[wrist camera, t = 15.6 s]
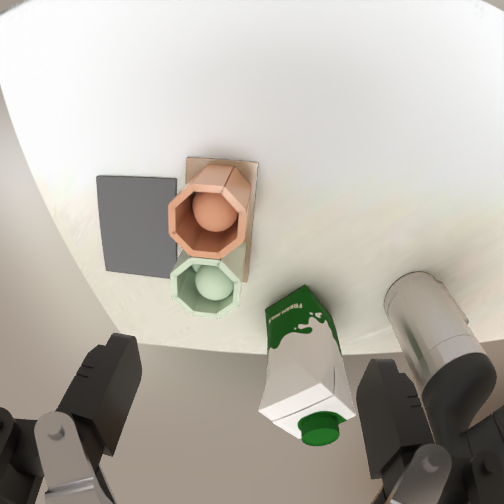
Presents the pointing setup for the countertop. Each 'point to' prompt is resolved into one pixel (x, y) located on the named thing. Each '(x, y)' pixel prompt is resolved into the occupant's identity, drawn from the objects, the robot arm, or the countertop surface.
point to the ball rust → (214, 212)
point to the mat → (137, 224)
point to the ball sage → (213, 283)
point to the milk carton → (305, 371)
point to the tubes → (208, 242)
